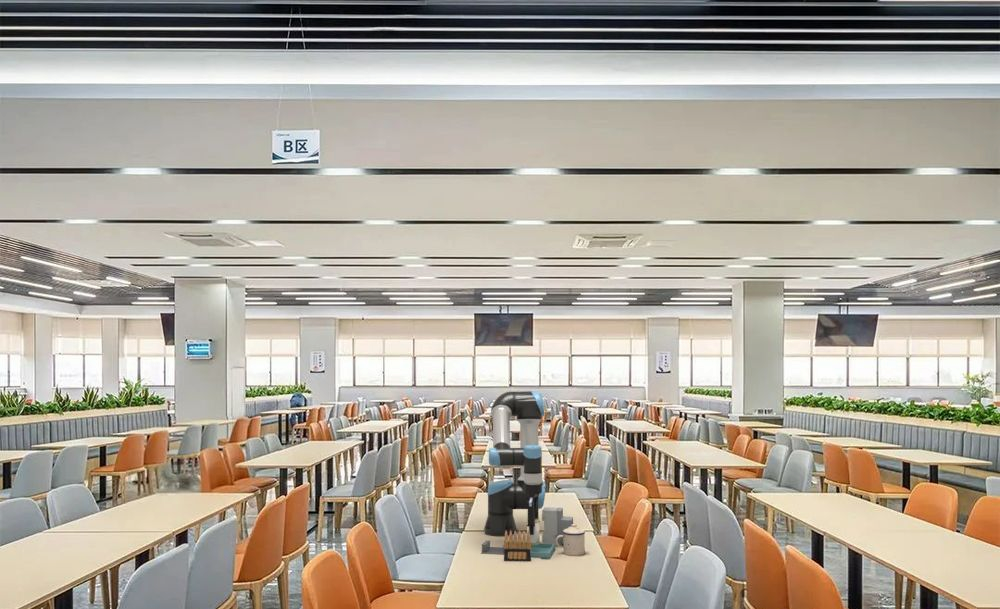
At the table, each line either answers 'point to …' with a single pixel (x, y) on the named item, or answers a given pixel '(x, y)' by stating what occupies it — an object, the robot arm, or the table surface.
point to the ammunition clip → (522, 549)
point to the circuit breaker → (554, 525)
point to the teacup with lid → (573, 541)
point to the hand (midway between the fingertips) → (533, 540)
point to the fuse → (536, 532)
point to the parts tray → (542, 550)
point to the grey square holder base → (492, 549)
